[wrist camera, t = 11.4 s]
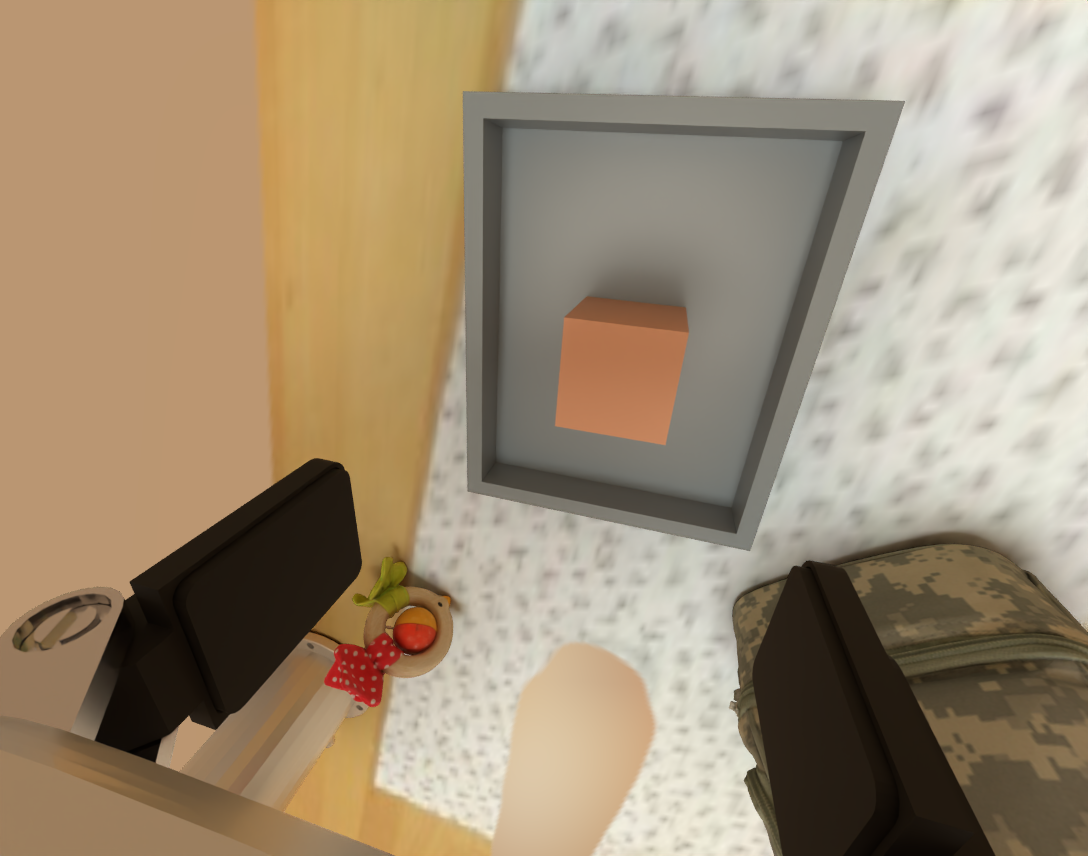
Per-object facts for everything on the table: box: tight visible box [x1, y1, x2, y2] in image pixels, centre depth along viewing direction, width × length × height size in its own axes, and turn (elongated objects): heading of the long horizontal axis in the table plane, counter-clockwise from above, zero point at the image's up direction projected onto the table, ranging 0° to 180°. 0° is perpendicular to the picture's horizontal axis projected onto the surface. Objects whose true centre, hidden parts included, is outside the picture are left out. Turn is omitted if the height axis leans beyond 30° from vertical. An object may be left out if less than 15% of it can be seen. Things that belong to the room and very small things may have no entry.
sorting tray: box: [463, 91, 905, 551], centre depth 25 cm, size 22×18×4 cm
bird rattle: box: [324, 557, 453, 707], centre depth 37 cm, size 6×11×9 cm
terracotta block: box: [555, 296, 689, 445], centre depth 24 cm, size 6×6×6 cm
